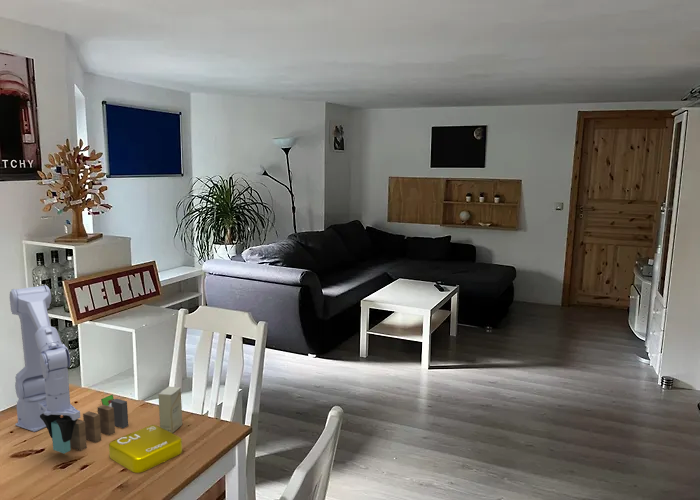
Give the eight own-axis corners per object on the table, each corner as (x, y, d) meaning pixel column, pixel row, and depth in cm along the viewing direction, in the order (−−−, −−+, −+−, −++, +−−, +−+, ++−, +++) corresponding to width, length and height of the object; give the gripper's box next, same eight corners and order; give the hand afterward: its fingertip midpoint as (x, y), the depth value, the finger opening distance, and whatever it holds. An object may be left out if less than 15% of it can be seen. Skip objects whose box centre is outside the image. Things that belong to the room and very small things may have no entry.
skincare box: (172, 433, 169) (171, 395, 167) (159, 432, 170) (157, 393, 168) (183, 424, 175) (181, 387, 173) (170, 422, 176) (168, 385, 174)
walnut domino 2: (84, 439, 165) (83, 413, 163) (90, 436, 166) (88, 411, 165) (95, 443, 163) (93, 417, 161) (101, 440, 164) (99, 414, 163)
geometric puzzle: (89, 410, 179) (98, 394, 175) (108, 402, 185) (116, 386, 181) (102, 427, 177) (111, 411, 173) (120, 418, 183) (129, 403, 179)
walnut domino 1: (69, 447, 160) (67, 420, 159) (75, 444, 162) (74, 417, 161) (80, 450, 158) (78, 424, 157) (86, 447, 160) (84, 421, 159)
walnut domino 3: (99, 432, 169) (97, 407, 168) (104, 429, 171) (103, 404, 170) (109, 435, 167) (108, 410, 166) (115, 432, 169) (113, 407, 168)
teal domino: (53, 449, 155) (51, 422, 154) (59, 446, 157) (57, 419, 156) (64, 453, 153) (62, 426, 152) (70, 450, 155) (68, 423, 154)
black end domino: (112, 425, 173) (111, 400, 172) (117, 422, 175) (116, 398, 174) (123, 428, 172) (121, 403, 170) (128, 425, 173) (127, 401, 172)
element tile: (137, 476, 147) (136, 459, 146) (106, 457, 156) (105, 441, 155) (185, 453, 158) (184, 437, 158) (154, 436, 167) (153, 421, 167)
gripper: (26, 392, 152) (30, 438, 154) (62, 402, 146) (65, 451, 148) (50, 383, 159) (53, 428, 161) (85, 392, 152) (88, 439, 154)
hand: (61, 438), depth 155 cm, fingers closed on teal domino, 4 cm apart
